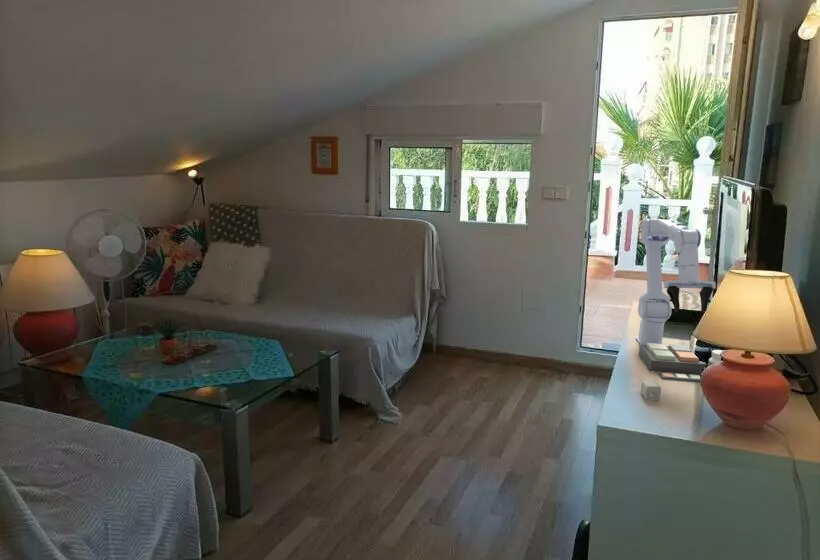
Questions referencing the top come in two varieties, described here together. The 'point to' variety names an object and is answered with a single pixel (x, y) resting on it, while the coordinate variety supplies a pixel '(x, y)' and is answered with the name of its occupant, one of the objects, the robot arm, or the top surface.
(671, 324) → the top surface
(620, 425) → the top surface
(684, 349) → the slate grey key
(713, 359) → the pill bottle
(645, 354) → the keyguard pad
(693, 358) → the terracotta key
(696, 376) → the strip
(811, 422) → the top surface
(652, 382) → the usb wall charger
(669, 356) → the sage key
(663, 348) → the ivory key
